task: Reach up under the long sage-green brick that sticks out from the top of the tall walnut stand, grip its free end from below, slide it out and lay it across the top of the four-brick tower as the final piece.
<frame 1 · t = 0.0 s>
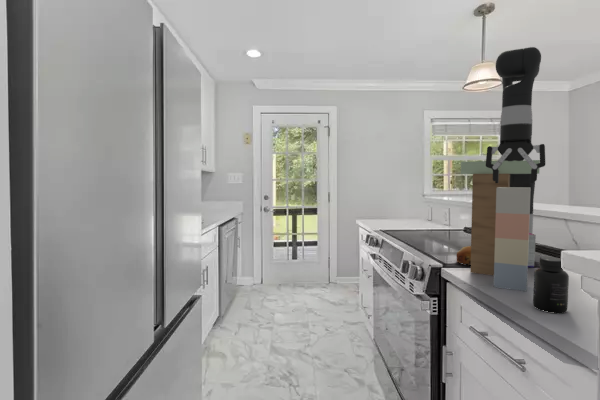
hand: (514, 183, 105), 29 cm above the worktop, tool pointing down, fingers open, 8 cm apart
long brick: (498, 173, 121), point 32 cm above the worktop, touching walnut stand
supplement box: (522, 266, 133), on the worktop
bread roll: (470, 263, 137), on the worktop
brick tower: (510, 285, 109), on the worktop
supplement bottle: (549, 309, 89), on the worktop
walnut stand: (488, 271, 124), on the worktop
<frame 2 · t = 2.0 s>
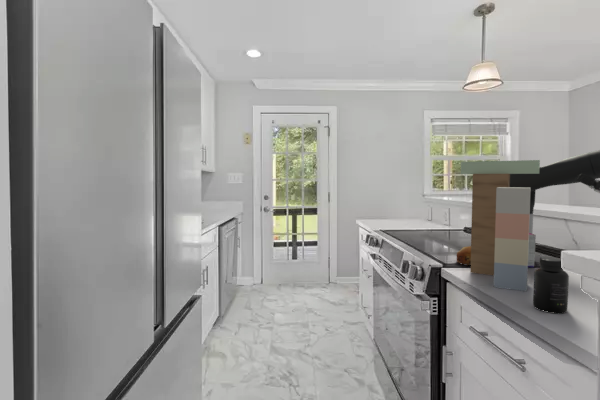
hand: (577, 176, 112), 31 cm above the worktop, tool pointing upward, fingers open, 8 cm apart
nothing on the worktop moved.
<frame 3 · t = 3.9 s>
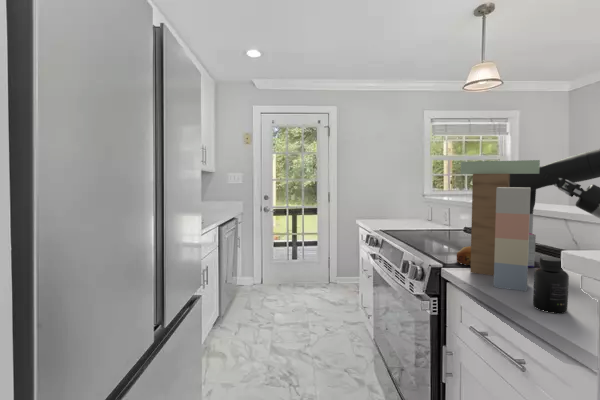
hand: (543, 174, 115), 32 cm above the worktop, tool pointing upward, fingers open, 8 cm apart
nothing on the worktop moved.
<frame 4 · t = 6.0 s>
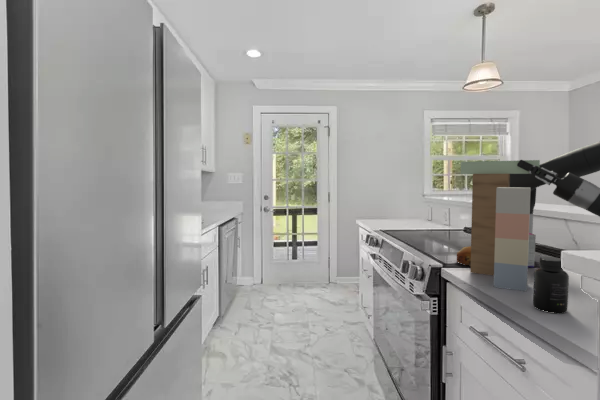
hand: (519, 162, 118), 35 cm above the worktop, tool pointing upward, fingers closed on long brick, 4 cm apart
long brick: (498, 173, 121), point 32 cm above the worktop, touching gripper, walnut stand
everything else where it was.
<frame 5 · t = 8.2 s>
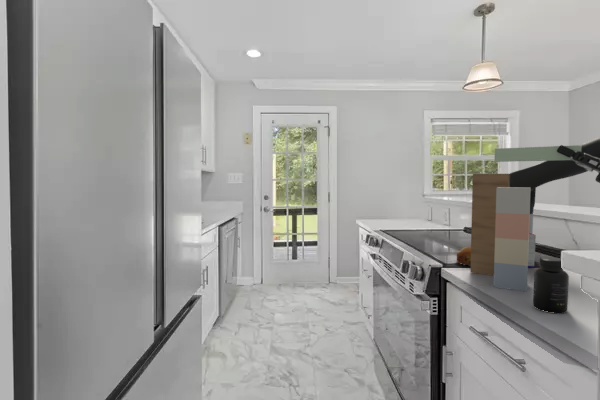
hand: (558, 148, 112), 39 cm above the worktop, tool pointing upward, fingers closed on long brick, 4 cm apart
long brick: (535, 160, 116), point 36 cm above the worktop, touching gripper
everything else where it was.
when the fingers open (33 cm above the worktop, at t = 10.9 s): long brick drops 1 cm, resting on brick tower.
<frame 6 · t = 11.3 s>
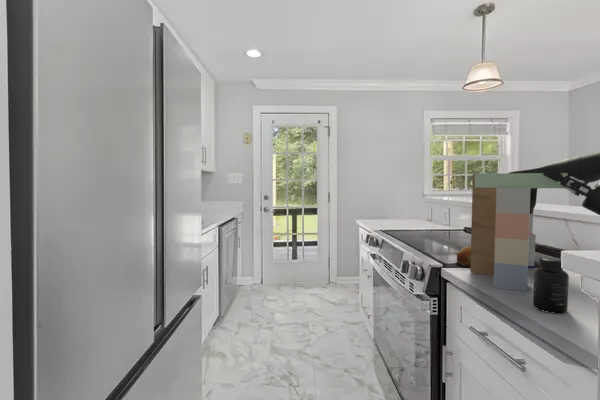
hand: (544, 171, 103), 33 cm above the worktop, tool pointing upward, fingers open, 7 cm apart
long brick: (518, 187, 106), point 28 cm above the worktop, touching brick tower
everything else where it was.
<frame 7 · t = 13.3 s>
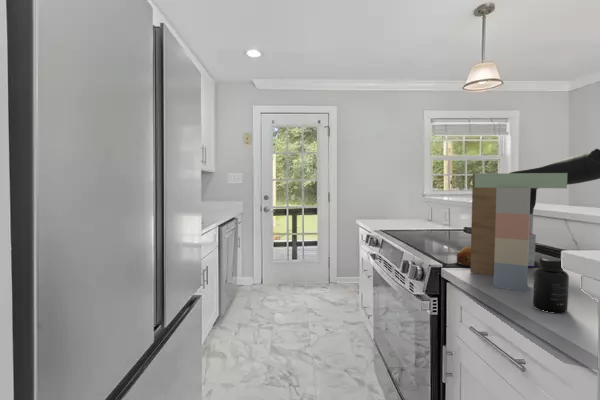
hand: (591, 152, 101), 37 cm above the worktop, tool pointing upward, fingers open, 8 cm apart
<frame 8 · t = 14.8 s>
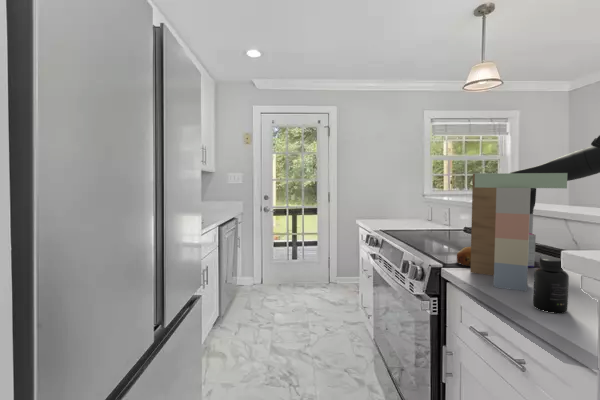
hand: (594, 139, 102), 41 cm above the worktop, tool pointing upward, fingers open, 8 cm apart
at the end: long brick inside the target area on the brick tower (0.2 cm from its centre), point 28.0 cm above the brick tower's base; long brick touching brick tower; the gripper is holding nothing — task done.
